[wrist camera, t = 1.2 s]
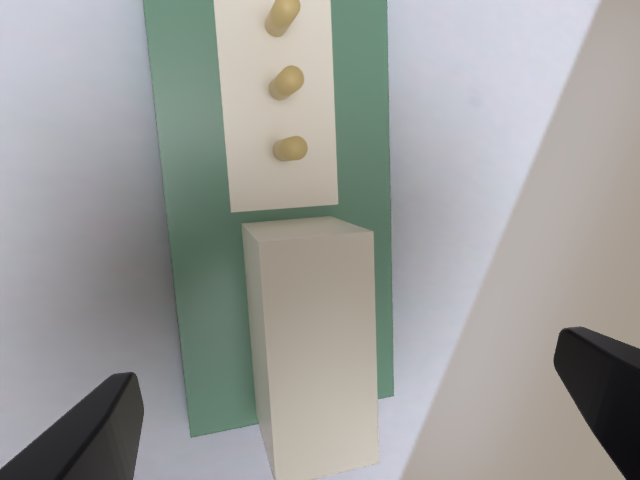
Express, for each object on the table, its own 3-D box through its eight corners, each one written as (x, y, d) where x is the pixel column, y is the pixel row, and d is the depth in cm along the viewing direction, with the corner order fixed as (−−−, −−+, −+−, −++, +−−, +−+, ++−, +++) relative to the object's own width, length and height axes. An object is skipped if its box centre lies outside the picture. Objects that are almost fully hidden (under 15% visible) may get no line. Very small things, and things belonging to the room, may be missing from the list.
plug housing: (337, 398, 22) (379, 463, 17) (256, 414, 21) (276, 488, 16) (330, 215, 20) (373, 231, 15) (241, 223, 19) (258, 242, 14)
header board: (385, 386, 23) (417, 422, 20) (190, 425, 21) (190, 474, 17) (376, -47, 20) (414, -91, 16) (137, -68, 17) (124, -125, 14)
